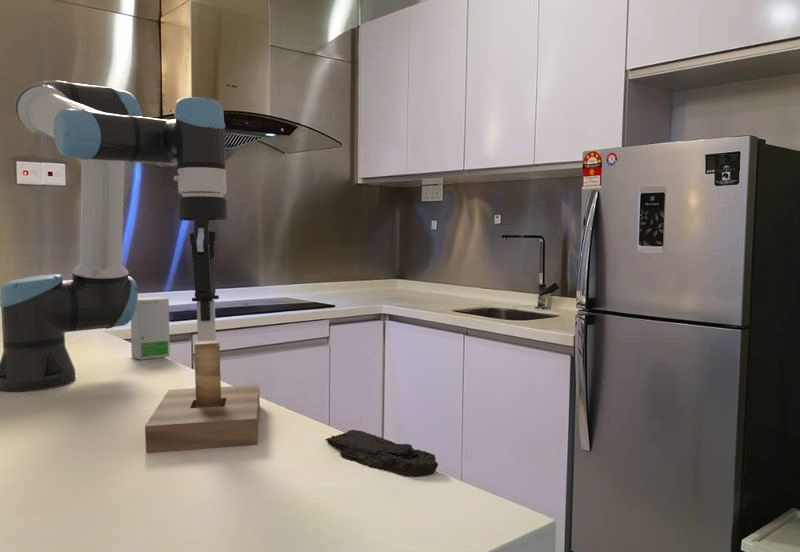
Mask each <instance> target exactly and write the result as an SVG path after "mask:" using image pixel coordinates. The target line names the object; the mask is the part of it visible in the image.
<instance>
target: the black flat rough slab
mask: <svg viewBox="0 0 800 552" xmlns="http://www.w3.org/2000/svg"><path fill="white" fill-rule="evenodd" d="M325 441H326V442H327V444H330V446H331V447H333V448H335V449H338V450H340V453H339V454H340V457H342V458H343V459H346V460H348V461H351V462H354V463H358V464H360V465H363V466H366V467H368V468H370V469H379V470H383V471H387V472H391V473H394V474H397V475H398V476H399V475H400V476H403V477H409V478H418V477H426V476H430V475H432V474H434V473H435V472H436V470H437V467H438V466H439V464H438V462H437V457H436V455H435V454H433V453H431V452H428V451H425V450H421V449H414V448H413V445H412V444H409V443H396V442H394V441H392V440H388V439H386V438H383V437H380V436H377V435H375V434H371V433H368V432H366V431H362V430H356V429H351V430H350V429H349V430H348V431H347V432H344V433H341V434H337V435H331V437H328V438H325Z"/></svg>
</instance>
